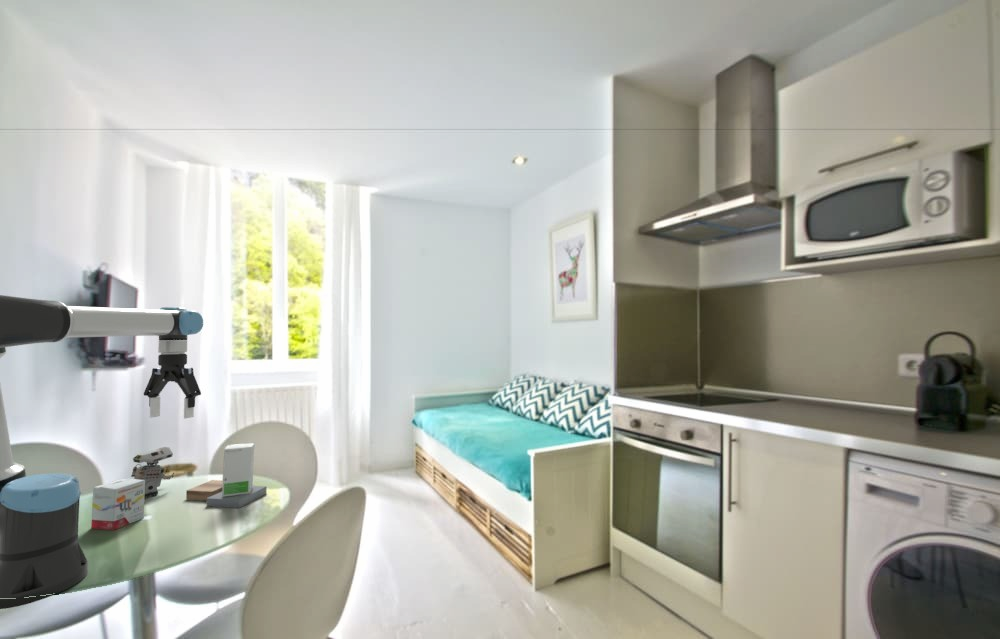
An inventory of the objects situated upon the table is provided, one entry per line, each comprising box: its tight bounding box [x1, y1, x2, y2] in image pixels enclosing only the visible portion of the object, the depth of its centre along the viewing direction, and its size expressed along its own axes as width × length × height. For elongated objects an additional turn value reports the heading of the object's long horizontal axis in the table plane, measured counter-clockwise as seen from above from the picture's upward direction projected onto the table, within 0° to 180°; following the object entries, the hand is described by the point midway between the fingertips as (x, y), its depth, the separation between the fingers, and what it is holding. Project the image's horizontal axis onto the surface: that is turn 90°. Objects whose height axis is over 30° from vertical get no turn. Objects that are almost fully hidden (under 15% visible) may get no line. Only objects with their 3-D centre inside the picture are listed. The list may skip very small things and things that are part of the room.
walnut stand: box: [185, 479, 223, 502], centre depth 141 cm, size 10×10×3 cm
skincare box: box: [222, 442, 255, 497], centre depth 137 cm, size 8×7×16 cm
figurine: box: [130, 446, 175, 499], centre depth 144 cm, size 9×12×15 cm
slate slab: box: [206, 485, 267, 509], centre depth 136 cm, size 12×12×2 cm
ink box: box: [91, 477, 146, 531], centre depth 120 cm, size 9×9×12 cm
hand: (171, 417), depth 134 cm, fingers open, 13 cm apart
